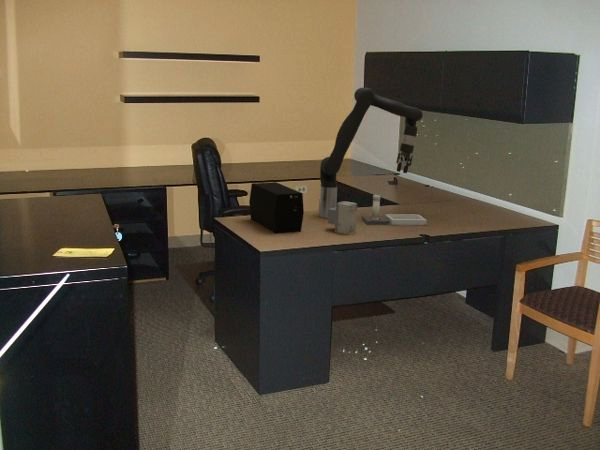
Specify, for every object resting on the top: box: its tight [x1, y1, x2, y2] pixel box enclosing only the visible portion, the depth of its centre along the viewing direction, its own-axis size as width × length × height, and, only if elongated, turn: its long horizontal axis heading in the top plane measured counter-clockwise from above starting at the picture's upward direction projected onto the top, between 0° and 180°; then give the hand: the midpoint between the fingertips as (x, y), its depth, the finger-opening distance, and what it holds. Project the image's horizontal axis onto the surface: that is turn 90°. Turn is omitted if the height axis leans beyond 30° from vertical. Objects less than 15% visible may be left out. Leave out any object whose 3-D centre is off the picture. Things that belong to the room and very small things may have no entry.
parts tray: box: [384, 213, 428, 226], centre depth 365 cm, size 20×14×3 cm
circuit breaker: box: [327, 200, 358, 235], centre depth 340 cm, size 8×14×15 cm, turn 56°
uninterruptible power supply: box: [249, 181, 305, 234], centre depth 344 cm, size 16×34×20 cm, turn 27°
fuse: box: [371, 194, 381, 220], centre depth 362 cm, size 4×4×15 cm
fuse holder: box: [361, 215, 390, 226], centre depth 363 cm, size 12×12×2 cm
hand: (401, 172), depth 373 cm, fingers open, 8 cm apart
